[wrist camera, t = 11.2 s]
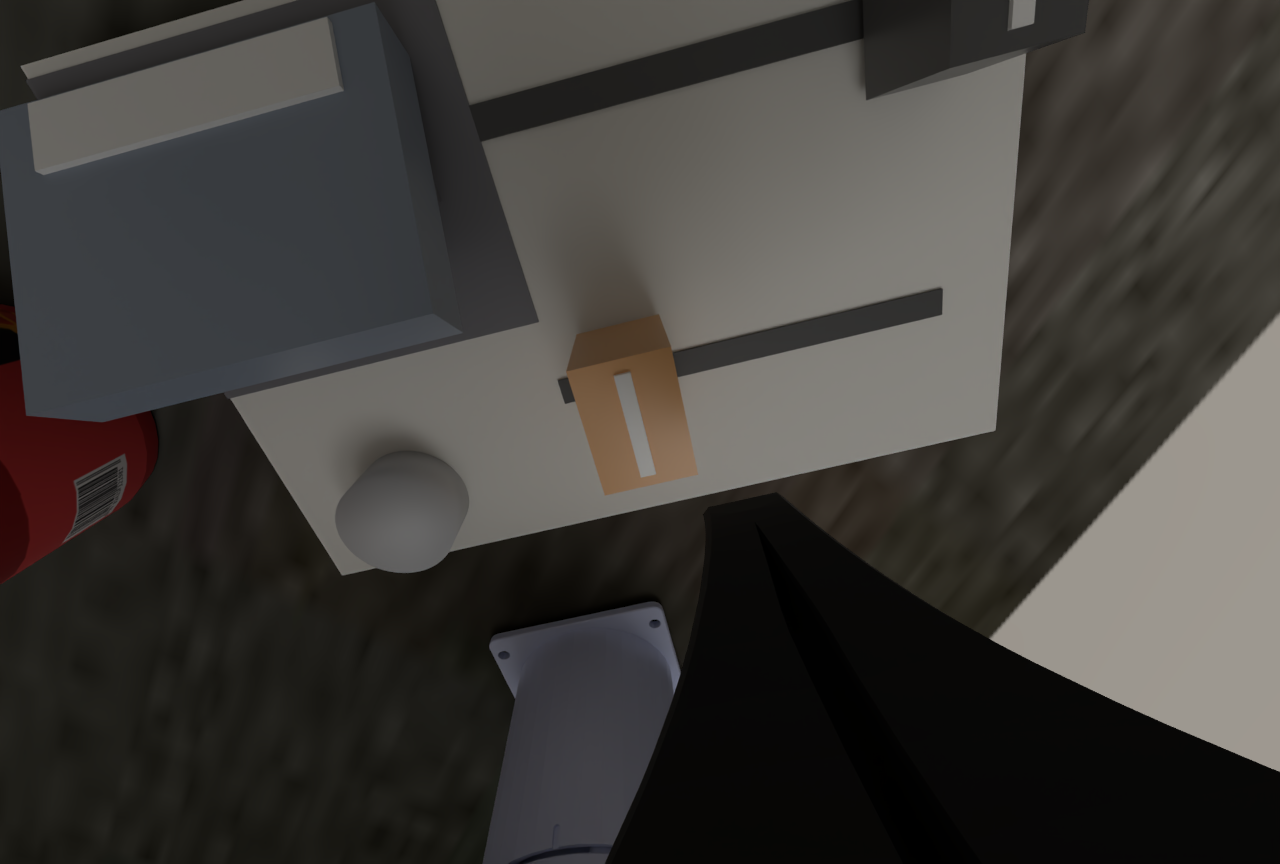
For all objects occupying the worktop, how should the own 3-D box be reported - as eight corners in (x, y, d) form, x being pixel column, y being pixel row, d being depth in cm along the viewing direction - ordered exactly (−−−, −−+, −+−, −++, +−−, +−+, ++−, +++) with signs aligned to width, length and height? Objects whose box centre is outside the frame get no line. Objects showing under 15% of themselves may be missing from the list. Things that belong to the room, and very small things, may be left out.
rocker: (463, 333, 11) (429, 311, 10) (102, 422, 12) (17, 415, 10) (409, 56, 12) (370, -5, 11) (69, 151, 13) (-15, 107, 11)
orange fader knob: (681, 420, 16) (698, 476, 13) (606, 437, 16) (604, 497, 13) (658, 314, 15) (671, 347, 11) (576, 334, 15) (565, 373, 12)
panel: (959, 408, 19) (1035, 454, 16) (366, 542, 20) (316, 611, 17) (986, -175, 12) (1129, -318, 9) (98, 83, 14) (-75, 45, 10)
